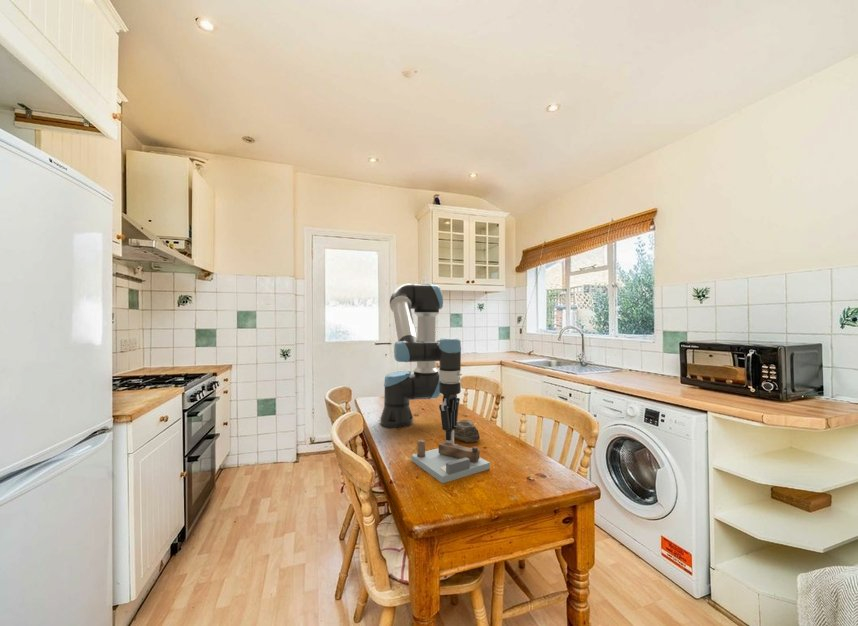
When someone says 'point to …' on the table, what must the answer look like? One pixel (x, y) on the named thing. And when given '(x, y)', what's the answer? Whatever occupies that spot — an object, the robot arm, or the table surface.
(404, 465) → the table surface
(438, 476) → the board
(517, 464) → the table surface
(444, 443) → the leg
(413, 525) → the table surface
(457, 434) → the stone
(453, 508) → the table surface
